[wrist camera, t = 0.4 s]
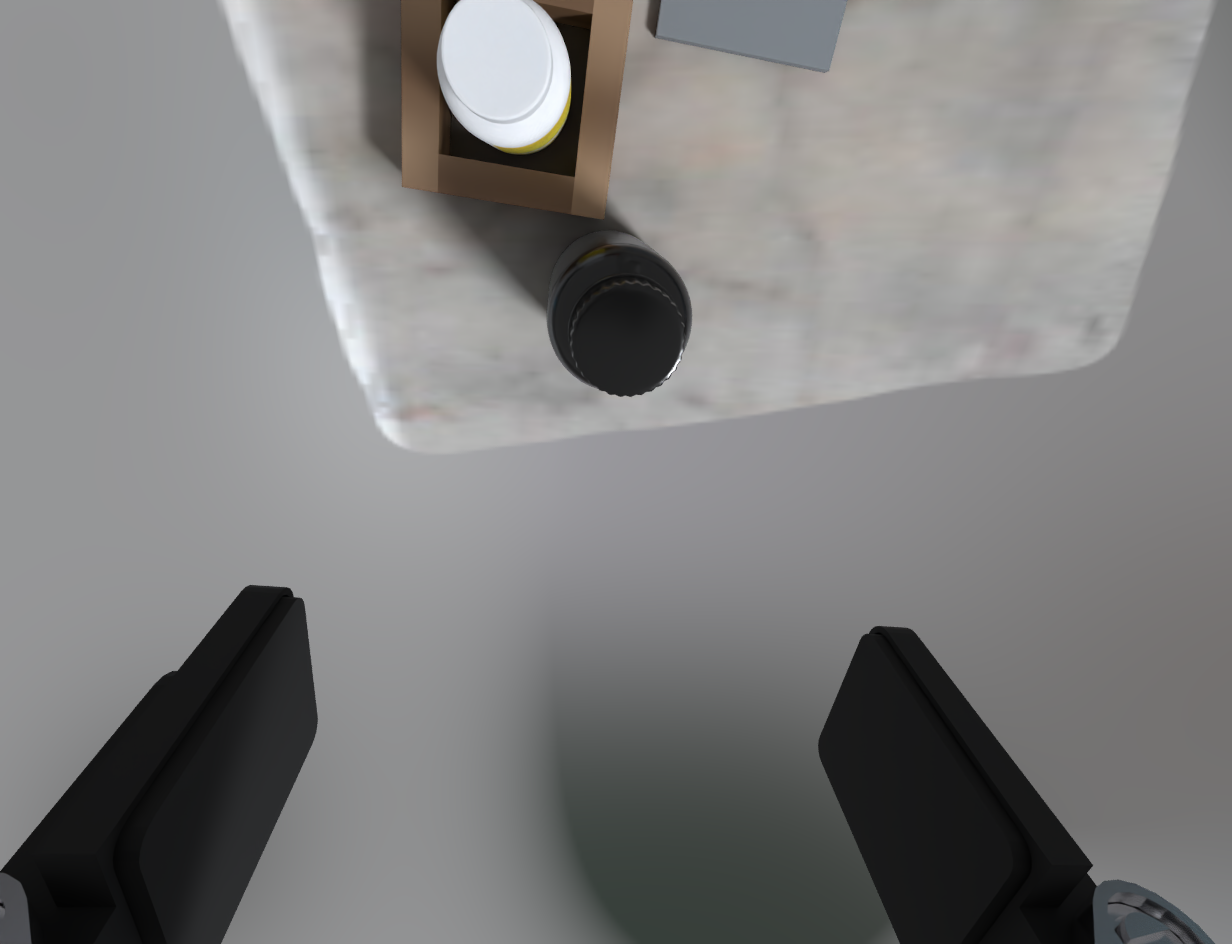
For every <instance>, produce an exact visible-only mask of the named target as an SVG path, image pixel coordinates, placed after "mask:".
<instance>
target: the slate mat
mask: <svg viewBox="0 0 1232 944" xmlns="http://www.w3.org/2000/svg"><path fill="white" fill-rule="evenodd" d="M846 4H847V0H660V6H659V13H658V20H657V27H656V33H655V38H659V39H664V40H668V41H673V42H678V43H683V44H688V45H693V46H698V47H702V48H707V49H712V50H717V51H722V52H727V53H731V54H736V55H741V56H746V57H751V58H756V59H761V60H765V61H770V62H775V63H780V64H785V65H790V66H795V67H799V68H804V69H809V70H814V71H819V72H824V73H825V72H827V71H829V69H830V65H831V61H832V57H833V54H834V50H835V46H836V42H837V38H838V34H839V30H840V27H841V23H842V19H843V15H844V11H845V7H846Z"/></svg>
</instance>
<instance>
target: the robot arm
mask: <svg viewBox="0 0 1232 944" xmlns="http://www.w3.org/2000/svg"><path fill="white" fill-rule="evenodd" d="M317 722H318V718H317V708H316V700H315V691H314V682H313V674H312V665H311V656H310V648H309V639H308V630H307V622H306V613H305V606H304V601H303V599H302V598H295V597H293V592H292V591H291V589H290V588H287V587H272V586H256V585H249V586H247V587H245V588H244V589H243V590H242V591H241V592H240V594H239V595H238V596H237V597H236V599H235V600H234V601H233V602H232V604H231V605H230V606H229V608H228V609H227V610H226V611H225V612H224V614H223V615H222V616H221V617H220V619H219V620H218V621H217V622H216V624H215V625H214V626H213V627H212V629H211V630H210V631H209V632H208V634H207V635H206V636H205V638H204V639H203V640H202V641H201V642H200V644H199V645H198V646H197V647H196V649H195V650H194V651H193V652H192V654H191V655H190V656H189V657H188V659H187V660H186V661H185V662H184V664H183V665H182V666H181V667H180V669H179V670H178V671H172V672H170V673H168V674H166V675H164V676H163V677H162V678H161V679H160V680H159V681H158V682H156V683H155V685H154V686H153V687H152V688H151V689H150V690H149V692H148V693H147V694H146V695H145V696H144V698H143V699H142V700H141V701H140V702H139V704H138V705H137V706H136V707H135V709H134V710H133V711H132V712H131V713H130V715H129V716H128V717H127V718H126V719H125V721H124V722H123V723H122V724H121V726H120V727H119V728H118V729H117V731H116V732H115V733H114V734H113V735H112V736H111V738H110V739H109V740H108V741H107V743H106V744H105V745H104V746H103V747H102V749H101V750H100V751H99V752H98V754H97V755H96V756H95V757H94V758H93V760H92V761H91V762H90V763H89V764H88V766H87V767H86V768H85V769H84V770H83V772H82V773H81V774H80V775H79V776H78V778H77V779H76V780H75V781H74V783H73V784H72V785H71V786H70V787H69V789H68V790H67V791H66V792H65V793H64V795H63V796H62V797H61V799H60V800H59V801H58V802H57V803H56V804H55V806H54V807H53V808H52V809H51V810H50V812H49V813H48V814H47V815H46V816H45V818H44V819H43V820H42V821H41V823H40V824H39V825H38V826H37V827H36V829H35V830H34V831H33V832H32V833H31V835H30V836H29V837H28V838H27V840H26V841H25V842H24V843H23V845H22V846H21V847H20V848H19V849H18V850H17V852H16V853H15V854H14V855H13V856H12V858H11V859H10V860H9V862H8V863H7V864H6V865H5V866H4V867H3V869H2V870H1V871H0V944H221V942H222V940H223V938H224V936H225V934H226V931H227V929H228V927H229V925H230V923H231V921H232V918H233V916H234V914H235V912H236V910H237V907H238V905H239V903H240V901H241V899H242V896H243V894H244V892H245V890H246V888H247V886H248V883H249V881H250V879H251V877H252V875H253V872H254V870H255V868H256V866H257V864H258V861H259V859H260V857H261V855H262V852H263V851H264V848H265V846H266V844H267V842H268V840H269V837H270V835H271V833H272V831H273V829H274V826H275V824H276V822H277V820H278V817H279V816H280V813H281V811H282V809H283V807H284V805H285V802H286V800H287V798H288V796H289V794H290V791H291V789H292V787H293V785H294V783H295V781H296V778H297V776H298V774H299V772H300V770H301V767H302V765H303V763H304V761H305V759H306V757H307V754H308V752H309V750H310V748H311V746H312V743H313V740H314V738H315V734H316V730H317ZM818 748H819V756H820V759H821V762H822V764H823V767H824V769H825V771H826V774H827V776H828V778H829V781H830V783H831V785H832V787H833V790H834V792H835V794H836V797H837V799H838V801H839V803H840V806H841V808H842V811H843V813H844V815H845V817H846V819H847V822H848V824H849V826H850V829H851V831H852V834H853V836H854V838H855V840H856V843H857V845H858V848H859V850H860V852H861V854H862V857H863V859H864V861H865V863H866V866H867V868H868V871H869V873H870V875H871V878H872V880H873V882H874V884H875V887H876V889H877V891H878V894H879V896H880V898H881V900H882V903H883V905H884V907H885V910H886V912H887V914H888V917H889V919H890V921H891V924H892V926H893V928H894V931H895V933H896V935H897V938H898V940H899V942H900V944H1215V943H1214V942H1213V941H1212V940H1211V938H1210V937H1208V935H1207V934H1206V933H1205V932H1204V931H1203V930H1202V929H1201V928H1200V926H1199V925H1197V924H1196V923H1195V922H1194V921H1193V920H1192V919H1190V918H1189V917H1188V916H1187V915H1186V914H1184V913H1183V912H1182V911H1181V910H1180V909H1179V908H1177V907H1176V906H1174V905H1173V904H1171V903H1170V902H1168V901H1167V900H1165V899H1164V898H1162V897H1160V896H1159V895H1158V894H1156V893H1154V892H1152V891H1150V890H1148V889H1146V888H1144V887H1141V886H1139V885H1137V884H1134V883H1130V882H1126V881H1122V880H1108V881H1103V882H1102V883H1101V884H1100V885H1098V886H1096V885H1095V883H1094V882H1093V881H1092V879H1091V878H1090V876H1089V875H1088V874H1087V872H1088V871H1089V870H1090V869H1091V867H1092V866H1093V865H1092V864H1091V862H1090V861H1089V859H1088V858H1087V857H1086V856H1085V854H1084V853H1083V852H1082V850H1081V849H1080V848H1079V846H1078V845H1077V844H1076V842H1075V841H1074V840H1073V838H1072V837H1071V836H1070V835H1069V833H1068V832H1067V831H1066V829H1065V828H1064V827H1063V825H1062V824H1061V823H1060V821H1059V820H1058V819H1057V818H1056V816H1055V815H1054V814H1053V812H1052V811H1051V810H1050V809H1049V807H1048V806H1047V805H1046V803H1045V802H1044V800H1043V799H1042V798H1041V797H1040V795H1039V794H1038V793H1037V791H1036V790H1035V789H1034V787H1033V786H1032V785H1031V783H1030V782H1029V781H1028V780H1027V778H1026V777H1025V776H1024V774H1023V773H1022V772H1021V771H1020V769H1019V768H1018V766H1017V765H1016V764H1015V763H1014V761H1013V760H1012V759H1011V757H1010V756H1009V755H1008V753H1007V752H1006V751H1005V749H1004V748H1003V747H1002V746H1001V744H1000V743H999V742H998V740H997V739H996V738H995V736H994V735H993V734H992V732H991V731H990V730H989V729H988V727H987V726H986V725H985V723H984V722H983V721H982V720H981V718H980V717H979V715H978V714H977V713H976V711H975V710H974V709H973V708H972V706H971V705H970V704H969V702H968V701H967V700H966V698H964V696H963V695H962V693H961V692H960V691H959V689H958V688H957V687H956V685H955V684H954V683H953V681H952V680H951V679H950V678H949V676H948V675H947V674H946V672H945V671H944V670H943V669H942V667H941V666H940V665H939V663H938V662H937V660H936V659H935V658H934V657H933V655H932V654H931V653H930V651H929V650H928V649H927V648H926V646H925V645H924V643H923V642H922V641H921V640H920V638H919V637H918V636H917V635H916V633H915V632H914V631H912V630H911V629H908V628H901V627H884V626H876V627H874V628H873V629H871V631H870V633H869V634H865V635H863V636H862V638H861V640H860V642H859V644H858V647H857V649H856V652H855V654H854V656H853V659H852V661H851V663H850V666H849V668H848V670H847V673H846V676H845V678H844V680H843V682H842V685H841V687H840V690H839V692H838V694H837V697H836V699H835V702H834V704H833V706H832V709H831V711H830V714H829V716H828V718H827V721H826V723H825V726H824V728H823V730H822V733H821V735H820V738H819V744H818Z"/></svg>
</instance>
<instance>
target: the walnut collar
mask: <svg viewBox="0 0 1232 944" xmlns="http://www.w3.org/2000/svg"><path fill="white" fill-rule="evenodd" d="M458 1H460V0H401V89H402V187H406V188H412V189H418V190H424V191H430V192H437V193H443V194H449V195H455V196H461V197H467V198H473V199H480V200H486V201H492V202H498V203H504V204H510V205H517V206H523V207H529V208H535V209H541V210H547V211H553V212H560V213H566V214H572V215H578V216H584V217H590V218H596V219H603V220H604V216H605V208H606V201H607V193H608V186H609V178H610V171H611V163H612V155H613V148H614V140H615V133H616V125H617V118H618V110H619V103H620V95H621V87H622V80H623V72H624V65H625V57H626V50H627V42H628V35H629V27H630V20H631V12H632V4H633V0H533V1H534V2H536V3H537V4H538V5H540V6H541V7H542V8H543V9H544V10H545V11H546V12H547V14H548V15H549V16H550V17H551V19H552V20H553V21H554V22H556V23H561V24H566V25H571V26H576V27H581V28H586V29H591V31H590V40H589V49H588V59H587V68H586V77H585V86H584V95H583V104H582V114H581V123H580V132H579V141H578V150H577V159H576V169H575V177H570V176H564V175H559V174H553V173H547V172H541V171H535V170H529V169H523V168H518V167H512V166H506V165H500V164H494V163H488V162H483V161H477V160H471V159H465V158H459V157H453V156H450V130H451V110H450V108H449V106H448V104H447V102H446V100H445V98H444V95H443V93H442V90H441V87H440V82H439V78H438V72H437V50H438V44H439V39H440V35H441V32H442V29H443V26H444V24H445V21H446V19H447V17H448V15H449V13H450V12H451V10H452V9H453V7H454V2H458Z"/></svg>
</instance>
